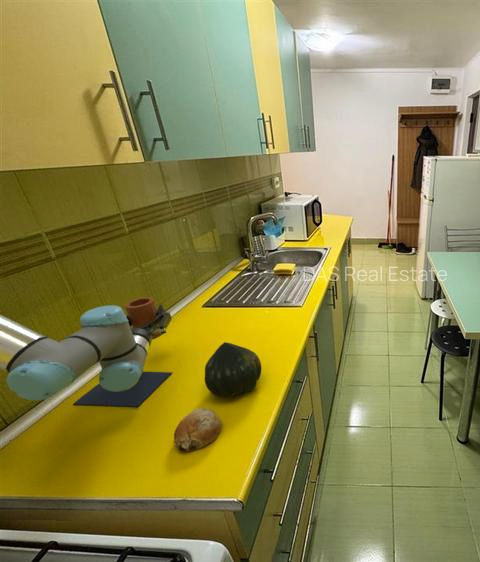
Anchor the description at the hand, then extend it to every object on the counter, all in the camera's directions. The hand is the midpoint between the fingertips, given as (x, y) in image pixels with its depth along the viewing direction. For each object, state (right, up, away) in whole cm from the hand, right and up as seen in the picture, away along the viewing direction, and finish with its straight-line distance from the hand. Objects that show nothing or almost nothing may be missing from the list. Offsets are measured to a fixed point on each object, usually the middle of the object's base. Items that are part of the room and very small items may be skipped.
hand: (147, 311), depth 101 cm
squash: (+35, -22, -11) cm, 42 cm away
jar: (+2, -8, -1) cm, 8 cm away
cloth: (+2, -22, -11) cm, 25 cm away
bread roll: (+33, -28, -26) cm, 51 cm away
